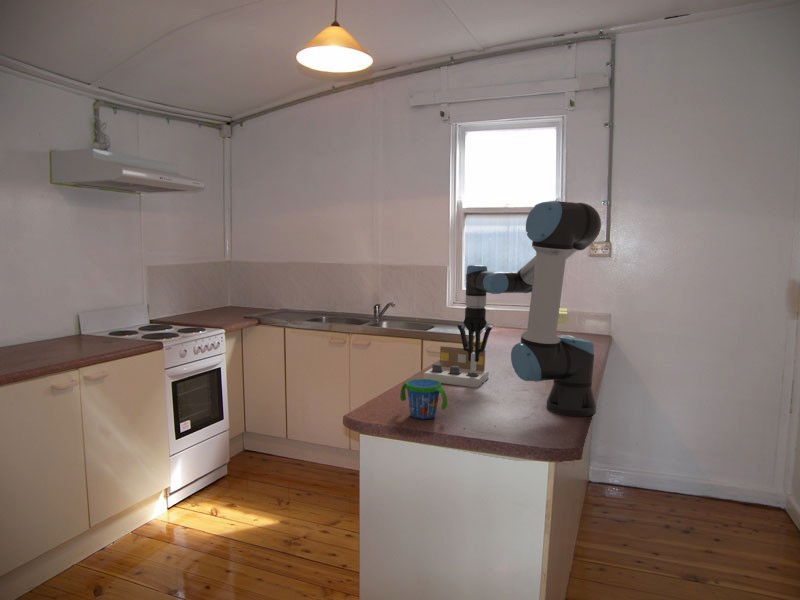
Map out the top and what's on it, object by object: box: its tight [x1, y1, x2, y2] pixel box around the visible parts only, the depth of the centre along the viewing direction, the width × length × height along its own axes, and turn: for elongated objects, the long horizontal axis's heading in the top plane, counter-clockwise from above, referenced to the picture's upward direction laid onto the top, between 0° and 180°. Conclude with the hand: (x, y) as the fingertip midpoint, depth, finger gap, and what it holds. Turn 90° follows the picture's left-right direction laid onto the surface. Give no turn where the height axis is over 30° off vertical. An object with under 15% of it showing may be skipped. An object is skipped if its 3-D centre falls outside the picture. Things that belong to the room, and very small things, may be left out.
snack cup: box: [399, 378, 448, 420], centre depth 165 cm, size 16×10×10 cm
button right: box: [468, 372, 478, 377], centre depth 206 cm, size 4×4×4 cm
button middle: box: [450, 366, 460, 375], centre depth 209 cm, size 4×4×4 cm
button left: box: [431, 363, 442, 373], centre depth 211 cm, size 4×4×4 cm
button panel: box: [423, 345, 490, 388], centre depth 211 cm, size 16×21×11 cm
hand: (473, 370), depth 205 cm, fingers closed
